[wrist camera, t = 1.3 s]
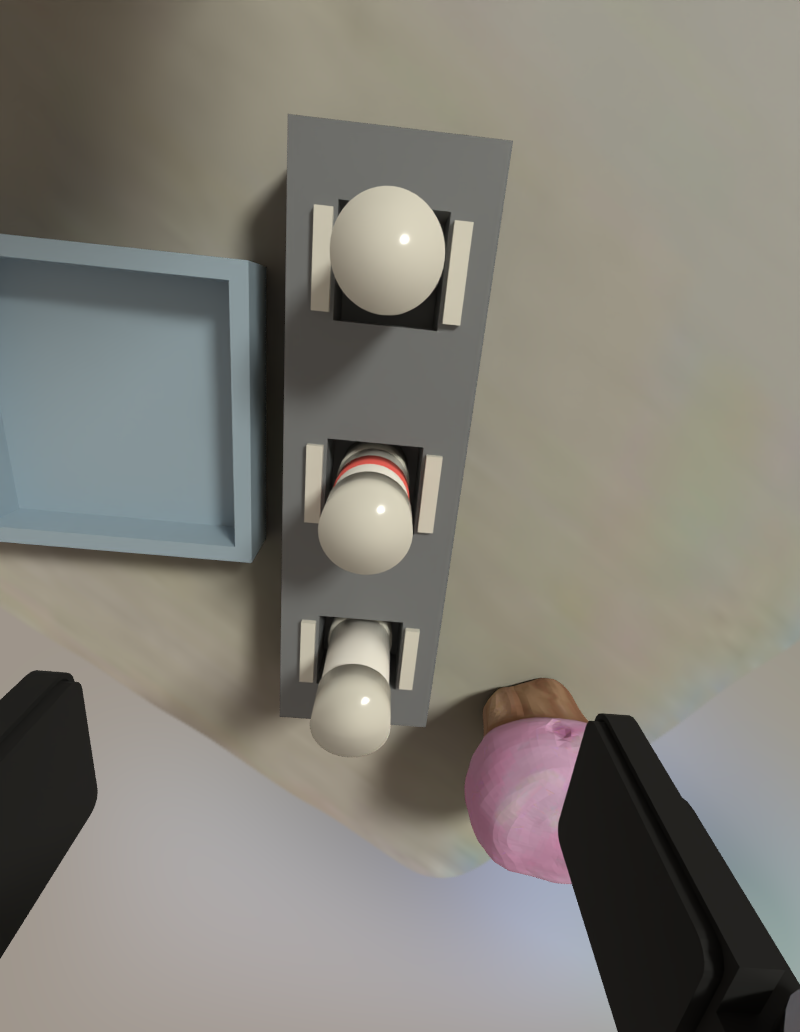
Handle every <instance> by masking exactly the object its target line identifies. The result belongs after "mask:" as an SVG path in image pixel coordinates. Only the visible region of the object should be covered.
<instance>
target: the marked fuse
mask: <svg viewBox="0 0 800 1032" xmlns="http://www.w3.org/2000/svg"><path fill="white" fill-rule="evenodd" d="M318 536H319V541H320V544H321V547H322V549H323V551H324V552H325V554H326V555H327V556H328V558H329V559H330V560H331V561H332V562H333V563H334V564H336V565H337V566H339V567H340V568H342V569H344V570H346V571H349V572H351V573H355V574H361V575H371V574H378V573H381V572H384V571H387V570H389V569H391V568H392V567H394V566H396V565H397V564H398V563H399V562H400V561H401V560H402V559H403V558H404V557H405V555H406V554H407V552H408V550H409V548H410V545H411V543H412V537H413V526H412V512H411V504H410V500H409V468H408V462H407V459H406V456H405V454H404V452H403V451H402V450H401V448H400V447H399V446H398V445H392V444H381V443H370V442H360V441H357V442H355V443H354V444H352V445H351V446H350V447H349V449H348V450H347V451H346V453H345V455H344V457H343V459H342V462H341V465H340V467H339V470H338V474H337V478H336V481H335V483H334V486H333V489H332V490H331V492H330V494H329V496H328V498H327V501H326V504H325V506H324V509H323V511H322V514H321V517H320V520H319V525H318Z"/></svg>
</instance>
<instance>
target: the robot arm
mask: <svg viewBox="0 0 800 1032" xmlns="http://www.w3.org/2000/svg"><path fill="white" fill-rule="evenodd" d="M96 800H97V783H96V778H95V770H94V764H93V757H92V750H91V745H90V737H89V731H88V724H87V718H86V711H85V704H84V698H83V691H82V686H81V684H80V683H79V682H74V679H73V676H72V675H71V674H69V673H63V672H51V671H38V670H36V671H32V672H30V673H29V674H28V675H26V676H25V677H24V678H23V679H22V680H21V681H20V682H19V683H18V684H17V685H16V686H15V687H13V688H12V689H11V690H10V691H9V692H8V693H7V694H6V695H5V696H4V697H3V698H2V699H1V700H0V958H1V957H2V955H3V953H4V952H5V950H6V949H7V947H8V946H9V944H10V942H11V941H12V939H13V938H14V936H15V934H16V933H17V931H18V930H19V928H20V926H21V925H22V923H23V922H24V920H25V918H26V917H27V915H28V914H29V912H30V910H31V909H32V907H33V906H34V904H35V902H36V901H37V899H38V898H39V896H40V894H41V893H42V891H43V890H44V888H45V886H46V885H47V883H48V881H49V880H50V878H51V877H52V875H53V874H54V872H55V870H56V869H57V867H58V866H59V864H60V863H61V861H62V859H63V858H64V856H65V855H66V853H67V851H68V850H69V848H70V846H71V845H72V843H73V842H74V840H75V839H76V837H77V835H78V834H79V832H80V830H81V829H82V827H83V826H84V824H85V823H86V821H87V819H88V818H89V816H90V814H91V813H92V811H93V809H94V806H95V803H96ZM558 838H559V843H560V847H561V850H562V854H563V857H564V860H565V863H566V866H567V870H568V873H569V876H570V879H571V883H572V886H573V889H574V892H575V895H576V899H577V902H578V905H579V908H580V911H581V915H582V918H583V921H584V924H585V927H586V931H587V934H588V937H589V941H590V944H591V947H592V950H593V953H594V957H595V960H596V963H597V966H598V970H599V973H600V976H601V979H602V982H603V985H604V989H605V992H606V995H607V998H608V1002H609V1005H610V1008H611V1011H612V1014H613V1018H614V1021H615V1024H616V1027H617V1031H618V1032H800V984H799V982H798V981H797V979H796V977H795V976H794V974H793V973H792V971H791V970H790V968H789V966H788V964H787V963H786V961H785V960H784V958H783V956H782V954H781V953H780V951H779V950H778V948H777V946H776V945H775V943H774V941H773V940H772V938H771V936H770V935H769V933H768V931H767V930H766V928H765V927H764V925H763V923H762V922H761V920H760V918H759V917H758V915H757V913H756V912H755V910H754V908H753V907H752V905H751V904H750V902H749V900H748V899H747V897H746V895H745V894H744V892H743V890H742V889H741V887H740V885H739V884H738V882H737V880H736V879H735V877H734V876H733V874H732V872H731V871H730V869H729V867H728V866H727V864H726V862H725V861H724V859H723V857H722V856H721V854H720V853H719V851H718V849H717V848H716V846H715V844H714V843H713V841H712V839H711V838H710V836H709V835H708V833H707V831H706V829H705V828H704V826H703V825H702V823H701V821H700V820H699V818H698V816H697V815H696V813H695V811H694V810H693V809H692V807H691V806H690V805H689V803H688V802H687V801H686V800H684V799H683V798H682V797H681V795H680V793H679V792H678V790H677V788H676V787H675V785H674V783H673V782H672V780H671V778H670V777H669V775H668V773H667V772H666V770H665V768H664V767H663V765H662V763H661V762H660V760H659V759H658V757H657V755H656V753H655V752H654V750H653V748H652V747H651V745H650V743H649V742H648V740H647V738H646V737H645V735H644V733H643V732H642V730H641V728H640V727H639V725H638V723H637V722H636V720H635V719H634V718H633V717H631V716H629V715H616V714H598V715H597V716H596V719H595V721H589V722H588V723H587V725H586V727H585V731H584V734H583V738H582V741H581V745H580V748H579V752H578V755H577V759H576V762H575V766H574V769H573V773H572V776H571V780H570V783H569V787H568V790H567V794H566V797H565V801H564V804H563V808H562V811H561V815H560V818H559V822H558Z"/></svg>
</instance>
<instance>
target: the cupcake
mask: <svg viewBox="0 0 800 1032" xmlns="http://www.w3.org/2000/svg"><path fill="white" fill-rule="evenodd" d="M588 722H589V721H588V720H587V719H586V718H585V717H584V715H583V714H582V713H581V711H580V710H579V708H578V706H577V704H576V703H575V701H574V699H573V697H572V695H571V694H570V692H569V691H568V690H567V689H566V688H565V687H564V686H563V685H562V684H561V683H559V682H558V681H556V680H554V679H548V678H540V679H536V680H532V681H529V682H526V683H522V684H518V685H515V686H511V687H502V688H500V689H498V690H497V691H495V692H494V694H493V695H492V696H491V697H490V698H489V699H488V701H487V702H486V704H485V706H484V709H483V724H484V738H483V740H482V741H481V743H480V744H479V746H478V747H477V749H476V751H475V752H474V754H473V756H472V758H471V760H470V765H469V769H468V772H467V775H466V779H465V801H466V806H467V809H468V813H469V817H470V821H471V825H472V828H473V830H474V833H475V835H476V837H477V839H478V841H479V843H480V844H481V845H482V847H483V848H484V849H485V851H486V853H487V854H488V855H489V856H490V857H491V859H492V860H493V861H494V862H495V863H497V864H499V865H501V866H502V867H504V868H505V869H507V870H509V871H512V872H517V873H521V874H525V875H530V876H533V877H536V878H540V879H543V880H547V881H550V882H554V883H561V884H572V883H571V879H570V876H569V873H568V870H567V866H566V863H565V860H564V857H563V854H562V850H561V847H560V843H559V838H558V822H559V818H560V815H561V811H562V808H563V804H564V801H565V797H566V794H567V790H568V787H569V783H570V780H571V776H572V773H573V769H574V766H575V762H576V759H577V755H578V752H579V748H580V745H581V741H582V738H583V734H584V731H585V727H586V725H587V723H588Z"/></svg>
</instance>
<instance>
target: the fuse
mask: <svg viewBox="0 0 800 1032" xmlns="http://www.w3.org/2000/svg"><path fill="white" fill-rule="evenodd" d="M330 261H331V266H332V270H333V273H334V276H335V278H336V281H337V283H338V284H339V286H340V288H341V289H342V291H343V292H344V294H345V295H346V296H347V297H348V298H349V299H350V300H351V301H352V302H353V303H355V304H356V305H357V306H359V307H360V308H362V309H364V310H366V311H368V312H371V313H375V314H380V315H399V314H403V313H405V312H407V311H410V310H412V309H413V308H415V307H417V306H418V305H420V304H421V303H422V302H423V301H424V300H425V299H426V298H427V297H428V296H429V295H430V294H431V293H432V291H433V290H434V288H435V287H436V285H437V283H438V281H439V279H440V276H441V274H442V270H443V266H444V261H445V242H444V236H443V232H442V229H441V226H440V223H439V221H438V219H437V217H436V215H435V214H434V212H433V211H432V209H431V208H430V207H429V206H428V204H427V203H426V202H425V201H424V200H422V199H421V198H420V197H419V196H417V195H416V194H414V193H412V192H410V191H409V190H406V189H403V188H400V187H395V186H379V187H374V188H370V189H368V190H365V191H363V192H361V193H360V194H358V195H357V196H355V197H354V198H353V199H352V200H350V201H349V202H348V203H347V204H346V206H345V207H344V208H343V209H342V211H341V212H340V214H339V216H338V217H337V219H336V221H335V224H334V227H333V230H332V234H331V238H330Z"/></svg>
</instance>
